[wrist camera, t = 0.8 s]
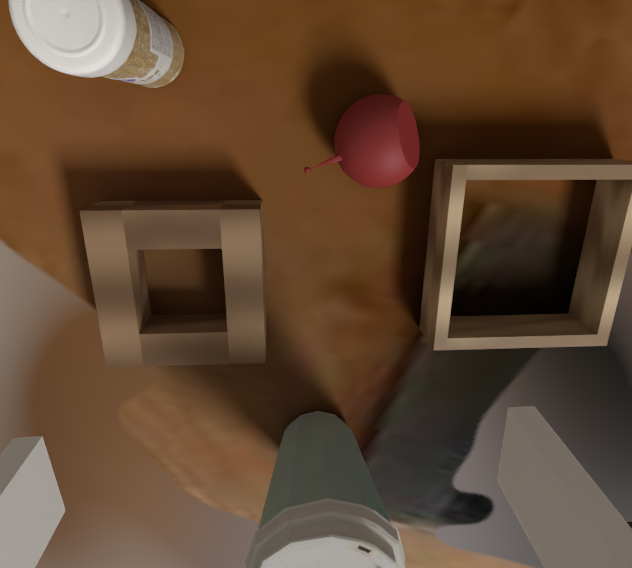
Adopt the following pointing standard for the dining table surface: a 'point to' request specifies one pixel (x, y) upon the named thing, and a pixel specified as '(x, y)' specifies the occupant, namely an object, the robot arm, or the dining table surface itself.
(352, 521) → the disposable coffee cup
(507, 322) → the open square frame
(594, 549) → the robot arm
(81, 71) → the sprinkles bottle
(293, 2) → the dining table surface
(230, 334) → the collar block
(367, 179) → the fruit
